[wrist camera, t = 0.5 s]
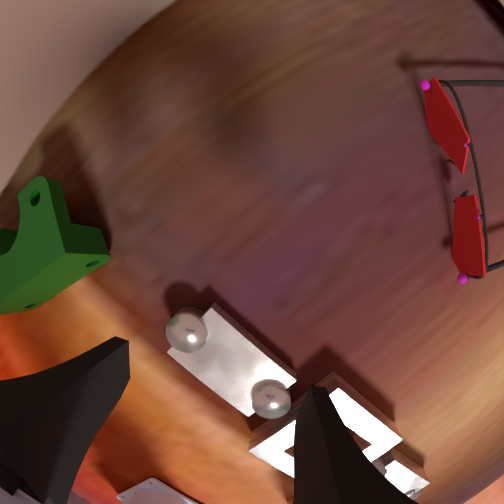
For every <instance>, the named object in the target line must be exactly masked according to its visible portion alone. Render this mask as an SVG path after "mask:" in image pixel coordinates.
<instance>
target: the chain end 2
mask: <svg viewBox="0 0 504 504" xmlns="http://www.w3.org/2000/svg"><path fill="white" fill-rule="evenodd" d="M326 389H327V391H328V393H329V395H330V397H331V399H332V401H333V403H334V405H335V407H336V409H337V411H338V413H339V414H340V416H341V418H342V420H343V422H344V423H345V425H346V426H348V427H349V428H350V429H352V430H353V431H355V432H356V433H357V434H359V435H360V436H362V437H363V438H364V440H362V441H361V442H360V443H358V446H359V447H360V448H361V450H362V451H363V453H364V454H365V455H366V456H367V458H368V459H369V460H370V461H371V462H372V464H373V465H374V466H375V467H376V468H377V469H378V470H379V471H380V472H381V473H382V474H383V475H384V476H385V477H386V478H387V479H388V480H389V481H390V482H391V483H392V484H393V485H394V486H396V487H397V488H398V489H399V490H400V491H402V492H403V493H404V494H405V495H407V496H408V497H409V498H411V499H412V500H414V499H416V498H417V497H419V496H420V495H421V494H422V492H423V490H422V488H423V487H425V486H426V485H428V484H429V483H430V481H429V479H428V477H427V475H426V472H425V470H424V468H422V467H421V466H419V465H418V464H417V463H415V462H414V461H412V460H411V459H409V458H408V457H406V456H405V455H404V454H402V453H401V452H399V451H398V450H397V449H395V448H394V447H393V446H395V445H396V444H397V443H399V442H400V441H402V440H403V439H402V437H401V435H400V432H399V431H398V430H397V429H396V428H395V427H393V426H392V425H391V424H390V423H388V422H387V421H386V420H385V419H383V418H382V417H381V416H380V415H378V414H377V413H376V412H375V411H374V410H372V409H371V408H370V407H369V406H367V405H366V404H365V403H364V402H363V401H361V400H360V399H359V398H358V397H357V396H355V395H354V394H353V393H352V392H351V391H349V390H348V389H347V388H346V387H345V386H343V385H342V384H341V383H340V382H339V381H338V380H336V379H335V380H334V381H333V382H331V383H330V384H329V385H328V386H326ZM300 408H301V406H300V407H299V408H297V409H296V410H295V411H293V412H292V413H291V414H289V415H288V416H286V417H285V418H283V419H282V420H281V421H279V422H278V423H276V424H275V425H273V426H272V427H270V428H269V429H267V430H266V431H264V432H263V433H261V434H260V435H258V436H257V437H255V438H254V439H252V440H251V441H250V442H249V450H248V451H249V452H251V453H252V454H254V455H256V456H257V457H259V458H261V459H262V460H264V461H266V462H267V463H269V464H271V465H272V466H274V467H276V468H278V469H279V470H281V471H283V472H285V473H286V474H288V475H290V476H292V477H294V449H293V448H292V447H290V446H292V445H293V440H294V429H295V420H296V417H297V415H298V413H299V410H300Z"/></svg>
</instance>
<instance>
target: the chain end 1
mask: <svg viewBox="0 0 504 504" xmlns="http://www.w3.org/2000/svg"><path fill="white" fill-rule="evenodd" d="M166 337H167V339H168V341H169V343H170V344H171V347H170V348H169V350H168V351H167V353H168V354H169V355H171V356H172V357H173V358H174V359H175V360H176V361H178V362H179V363H180V364H181V365H182V366H183V367H185V368H186V369H187V370H188V371H189V372H191V373H192V374H193V375H194V376H196V377H197V378H198V379H199V380H200V381H202V382H203V383H204V384H205V385H207V386H208V387H209V388H211V389H212V390H213V391H214V392H216V393H217V394H218V395H220V396H221V397H222V398H223V399H225V400H226V401H227V402H229V403H230V404H231V405H233V406H234V407H235V408H237V409H238V410H240V411H241V412H242V413H244V414H245V415H246V416H248V417H249V416H250V415H252V414H253V413H255V412H256V413H257V414H258V415H259V416H261V417H264V418H269V420H267V421H266V422H265V423H263V424H262V425H260V426H259V427H257V428H256V429H254V430H253V431H251V433H250V441H251V440H252V439H254V438H255V437H257V436H258V435H260V434H261V433H263V432H264V431H266V430H267V429H269V428H270V427H272V426H273V425H275V424H276V423H278V422H279V421H281V420H282V419H283V418H285V417H286V416H288V415H289V414H291V413H292V412H293V411H295V410H296V409H297V408H299V407H300V406H302V403H303V401H304V399H305V396H306V394H307V392H306V393H304V394H303V395H302V396H300V397H299V398H298V399H296V400H295V401H294V402H292V403H291V397H290V387H289V386H291V385H292V384H293V383H294V382H296V381H297V380H296V372H295V371H294V370H293V369H292V368H290V367H289V366H288V365H287V364H286V363H284V362H283V361H282V360H281V359H280V358H278V357H277V356H276V355H275V354H274V353H272V352H271V351H270V350H269V349H268V348H267V347H265V346H264V345H263V344H262V343H261V342H260V341H258V340H257V339H256V338H255V337H254V336H253V335H252V334H250V333H249V332H248V331H247V330H246V329H245V328H244V327H242V326H241V325H240V324H239V323H238V322H237V321H236V320H235V319H233V318H232V317H231V316H230V315H229V314H228V313H227V312H226V311H224V310H223V309H222V308H221V307H220V306H219V305H218V304H217V303H216V302H214V303H213V304H212V305H211V306H210V307H209V308H208V309H207V310H206V311H205V312H204V311H203V310H201V309H199V308H197V307H194V306H186V307H183V308H181V309H179V310H178V311H177V312H176V314H175V315H174V316H173V317H172V319H171V320H170V321H169V322H168V324H167V326H166ZM335 379H336V380H338V381H339V382H340V383H341V384H342V385H343V386H345V387H346V388H347V389H348V390H349V391H351V392H352V393H353V394H354V395H355V396H357V397H358V398H359V399H360V400H361V401H363V402H364V403H365V404H366V405H367V406H369V407H370V408H371V409H372V410H374V411H375V412H376V413H377V414H378V415H380V416H381V417H382V418H383V419H385V420H386V421H387V422H388V423H390V424H391V425H392V426H393V427H395V428H396V429H397V430H398V428H397V426H396V424H395V422H394V421H393V420H391V419H390V418H389V417H388V416H386V415H385V414H384V413H383V412H382V411H380V410H379V409H378V408H377V407H376V406H374V405H373V404H372V403H371V402H370V401H368V400H367V399H366V398H365V397H364V396H363V395H361V394H360V393H359V392H358V391H357V390H355V389H354V388H353V387H352V386H351V385H350V384H348V383H347V382H346V381H345V380H344V379H343V378H341V377H340V376H339V375H338V374H337V373H336V372H334V371H332V372H331V373H330V374H328V375H327V376H326V377H325V378H323V379H322V380H321V381H320V382H318V383H317V384H316V385H315V386H320V387H326V386H328V385H329V384H330V383H331V382H333V381H334V380H335ZM398 431H399V430H398ZM353 438H354V440H355V441H356V443H357V444H358V443H360V442H361V441H362V440H364V438H363V437H362V436H360V435H359V434H356V435H354V436H353ZM290 447H292V448H293V445H292V446H290Z"/></svg>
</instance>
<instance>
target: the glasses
mask: <svg viewBox="0 0 504 504" xmlns="http://www.w3.org/2000/svg"><path fill="white" fill-rule="evenodd" d="M452 86H501V87H504V81H503V80H453V81H444V80H438V79H437V78H436V77H434V78H433V79H432V80H431V81H430V82H428V81H427V80H421V82H420V87H421V88H422V89H423V90H424V92H425V115H426V122H427V125H428V129H429V132H430V134H431V135H432V136H433V137H434V138H435V140H436V141H437V142H438V143H439V145H440V146H441V147H442V148H443V150H444V151H445V152H446V153H447V155H448V156H449V157H450V159H451V160H452V161H451V160H450V159H448V160H445V161H447V163H448V162H451V163H453V164H454V165H455V166H456V167H457V168H458V169H459V171H460V172H461V173H462V174H465V169H466V163H467V157H468V151H469V146H470V149H471V154H472V158H473V163H474V168H475V173H476V178H477V184H478V190H479V196H480V203H481V210H482V215H480V211H479V205H478V199H477V194H476V195H470V196H467V194H468V193H469V191H468V190H466V191H465V192H463V193H462V194H461V195H460V197H458V198H455V200H454V201H453V202H455V208H454V230H453V244H452V259H453V261H454V263H455V265H456V266H457V268H458V270H459V272H460V274H459V275H458V281H459V282H460V283H465V282H466V281H467V279H469V278H474V279H481V278H483V277H484V276H486V273H487V272H489V271H492V270H495V269H497V268H500V267H502V266H504V260H502V261H499V262H497V263H494V264H491V265H489V266H488V238H487V227H486V218H485V210H484V202H483V195H482V189H481V183H480V177H479V172H478V167H477V162H476V157H475V153H474V148H473V144H472V140H471V136H470V132H469V128H468V124H467V121H466V117H465V114H464V111H463V108H462V105H461V103H460V100H459V98H458V96H457V94H456V92H455V90H454V89H453V87H452ZM443 87H449V88H450V90H451V91H452V93H453V95H454V97H455V99H456V101H457V103H458V106H459V109H460V112H461V115H462V118H463V122H464V125H465V127H464V125H463V123H462V121H461V119H460V117H459V115H458V113H457V111H456V110H455V108H454V106H453V104H452V103H451V101H450V99H449V97H448V96H447V94H446V92H445V91H444V89H443ZM481 218H482V219H483V228H484V238H485V253H484V243H483V234H482V226H481Z"/></svg>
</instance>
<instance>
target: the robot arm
mask: <svg viewBox="0 0 504 504" xmlns="http://www.w3.org/2000/svg"><path fill="white" fill-rule="evenodd" d="M129 379H130V366H129V341H128V340H125V339H122V338H119V337H116V336H115V337H113V338H111V339H109V340H107V341H105V342H104V343H102V344H100V345H98V346H96V347H94V348H93V349H91V350H89V351H87V352H85V353H83V354H81V355H79V356H77V357H75V358H73V359H71V360H68V361H66V362H64V363H62V364H59V365H57V366H55V367H52V368H50V369H47V370H44V371H41V372H38V373H35V374H31V375H27V376H23V377H18V378H14V379H9V380H2V381H0V504H67V500H68V497H69V494H70V491H71V488H72V486H73V483H74V480H75V478H76V475H77V473H78V470H79V468H80V466H81V464H82V461H83V459H84V457H85V455H86V453H87V451H88V448H89V446H90V444H91V442H92V441H93V439H94V437H95V435H96V434H97V432H98V431H99V429H100V428H101V426H102V425H103V423H104V422H105V420H106V419H107V417H108V416H109V414H110V413H111V411H112V410H113V408H114V407H115V405H116V404H117V402H118V401H119V399H120V398H121V396H122V394H123V392H124V390H125V388H126V386H127V384H128V381H129ZM293 449H294V500H293V504H418V503H417V502H415V501H414V500H412V499H411V498H409V497H408V496H407V495H405V494H404V493H403V492H402V491H400V490H399V489H398V488H397V487H396V486H394V485H393V484H392V483H391V482H390V481H389V480H388V479H387V478H386V477H385V476H384V475H383V474H382V473H381V472H380V471H379V470H378V469H377V468H376V467H375V466H374V465H373V464H372V462H371V461H370V460H369V459H368V458H367V456H366V455H365V454H364V453H363V451H362V450H361V448H360V447H359V446H358V444H357V443H356V441H355V440H354V438H353V437H352V435H351V433H350V432H349V430H348V428H347V427H346V425H345V423H344V422H343V420H342V418H341V416H340V414H339V413H338V411H337V409H336V407H335V405H334V403H333V401H332V399H331V397H330V395H329V393H328V391H327V389H326V387H320V386H314V385H310V387H309V389H308V391H307V394H306V396H305V399H304V401H303V403H302V406H301V408H300V410H299V413H298V415H297V417H296V420H295V429H294V440H293ZM116 497H117V498H118V499H119V500H121V501H122V503H121V504H199V503H197V502H195V501H193V500H191V499H189V498H188V497H186V496H184V495H182V494H181V493H179V492H177V491H175V490H174V489H172V488H170V487H169V486H167V485H166V484H164V483H162V482H161V481H159V480H158V479H156V478H153V477H152V478H149V479H147V480H145V481H143V482H142V483H140V484H138V485H136V486H134V487H132V488H130V489H128V490H126V491H124V492H122V493H120V494H118V495H117V496H116Z"/></svg>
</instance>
